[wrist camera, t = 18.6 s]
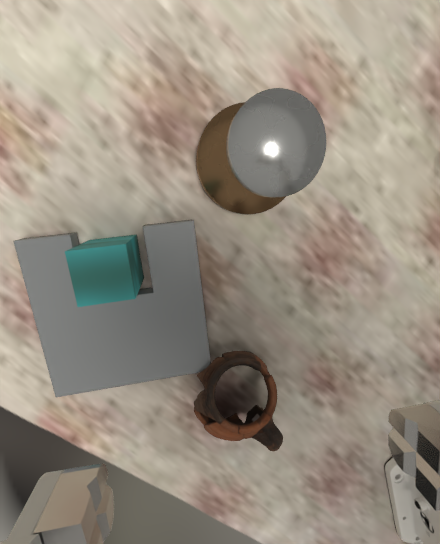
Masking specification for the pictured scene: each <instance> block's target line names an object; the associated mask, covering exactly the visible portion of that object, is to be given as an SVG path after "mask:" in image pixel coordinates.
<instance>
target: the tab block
mask: <svg viewBox="0 0 440 544" xmlns="http://www.w3.org/2000/svg"><path fill="white" fill-rule="evenodd" d="M65 255H66V260H67V264H68V268H69V272H70V277H71V281H72V285H73V289H74V294H75V298H76V302H77V307H83V306H90V305H97V304H104V303H111V302H118V301H125V300H132V299H136V297H137V294H138V292H139V289H140V287H141V284H142V282H143V279H144V275H143V269H142V263H141V258H140V252H139V246H138V240H137V235H129V236H120V237H112V238H104V239H95V240H89V241H87V242H85V243H82V244H80V245H78V246H76V247H73V248H71V249H69V250H67V251H65Z"/></svg>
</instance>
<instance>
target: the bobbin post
mask: <svg viewBox="0 0 440 544" xmlns="http://www.w3.org/2000/svg"><path fill="white" fill-rule="evenodd" d="M325 151H326V133H325V127H324V124H323V121H322V119H321V116H320V114H319V113H318V111H317V109H316V108H315V107H314V105H313V104H312V103H311V102H310V101H309V100H308V99H307V98H305V97H304V96H302V95H301V94H299V93H297V92H295V91H292V90H288V89H283V88H275V89H268V90H265V91H262V92H260V93H258V94H256V95H254V96H253V97H251V98H250V99H249V100H248V101H246V102H244V103H238V104H235V105H232V106H229V107H227V108H225V109H224V110H222V111H221V112H219V113H218V114H217V115H216V116H215V117H214V118H213V119H212V120H211V121H210V122H209V123H208V125H207V126H206V128H205V130H204V132H203V134H202V136H201V138H200V141H199V144H198V148H197V154H196V167H197V173H198V177H199V180H200V182H201V185H202V187H203V188H204V190H205V192H206V193H207V194H208V196H209V197H210V198H211V199H212V200H213V201H214V202H215V203H216V204H218V205H219V206H221V207H222V208H224V209H226V210H229V211H232V212H236V213H241V214H256V213H261V212H264V211H267V210H269V209H271V208H273V207H274V206H276V205H277V204H279V203H280V202H281V201H282V200H283V199H284V198H285V197H286V196H288V195H292V194H294V193H296V192H298V191H300V190H302V189H303V188H304V187H306V186H307V185H308V184H309V183H310V182H311V181H312V180H313V179H314V177H315V176H316V174H317V173H318V171H319V169H320V167H321V165H322V163H323V160H324V156H325Z"/></svg>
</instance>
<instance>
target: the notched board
mask: <svg viewBox="0 0 440 544" xmlns="http://www.w3.org/2000/svg"><path fill="white" fill-rule="evenodd" d="M143 230H144V237H145V243H146V249H147V255H148V261H149V267H150V274H151V280H152V286H153V288H146V289H139V292H138V294H137V297H136V299H132V300H125V301H118V302H111V303H104V304H97V305H90V306H83V307H77V302H76V298H75V294H74V289H73V285H72V281H71V277H70V272H69V268H68V264H67V260H66V255H65V251H67V250H69V249H71V248H73V247H76V246H78V245H79V241H78V236H77V233H68V234H59V235H50V236H41V237H32V238H24V239H20V240H16V241H14V245H15V248H16V252H17V256H18V259H19V263H20V267H21V271H22V274H23V278H24V282H25V285H26V289H27V293H28V296H29V300H30V304H31V308H32V311H33V315H34V319H35V322H36V326H37V330H38V333H39V337H40V341H41V344H42V348H43V352H44V356H45V359H46V363H47V367H48V370H49V374H50V378H51V381H52V385H53V389H54V393H55V396H56V397H61V396H67V395H72V394H78V393H84V392H90V391H95V390H101V389H107V388H112V387H118V386H124V385H130V384H135V383H141V382H147V381H153V380H158V379H164V378H170V377H176V376H181V375H187V374H193V373H198V372H201V371H203V370H204V369H206V368H207V367H208V366H209V365H210V364H211V360H210V352H209V344H208V335H207V327H206V319H205V310H204V302H203V294H202V285H201V277H200V269H199V260H198V252H197V244H196V235H195V227H194V221H193V220H185V221H176V222H167V223H158V224H149V225H144V226H143Z"/></svg>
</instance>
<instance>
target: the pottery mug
mask: <svg viewBox="0 0 440 544" xmlns="http://www.w3.org/2000/svg"><path fill="white" fill-rule="evenodd" d="M238 365H246V366H250V367H252V368H254V369H256V370H258V371H260V372H261V373H262V375H263V377H264V380H265V382H266V385H267V390H268V400H267V405H266V408H265V409H264V410H263V409H262V408H260V407H259V406H258V405H255V406H254V407H253V408H252V409H251V410H250V411H249V412H248V413H247V417H246V421H245V423H243V422H242V420H241V419H239V417H238V415H237V414H234V415H232V416H231V417H228V418H226V419H225V418H224V417H223V416H222V415H221V414H220V412H219V410H218V408H217V406H216V402H215V387H216V384H217V382H218V380H219V378H220V377H221V375H222V374H223V373H224V372H225V371H226V370H228V369H229V368H231V367H234V366H238ZM197 377H199V379H200V381H201V382H202V383H203V385H204V387H205V390H204V391H201V392H200V393H199V395H198V397H197V399H196V400H195V401H194V406H195V407H194V412H195V415H196V416H197V418H198V419H199V420H200V421H201V422H202V423H203V424H204V428H205V430H206V431H208V432H209V433H210V434H211V435H213V436H215V437H217V438H220V439H224V440H229V441H240V440H242V439H244V438H245V439H247V438H251V437H252V438H254V439H256V440H257V441H259V442H261V443H262V444H263V445H265V446H266V447H267V448H268V449H269V450H270V451H276V450H278V449H279V448H280V446H281V444H282V442H283V435H282V433H281V432H280V431H279V429H278V428H277V427H276V425H275V424H274V422H273V419H272V415H273V413H274V411H275V407H276V403H277V389H276V384H275V382H274V379H273V377H272V375H270V374H269V372H268V371H267V366H266V365H265V363H264V362H263V361H262V360H261V359H260V358H259V357H257V356H256V355H254V354H253V353H251V352H246V351H232V352H227V353H224V354H222V357H217V358H216V359H214V360H213V361H212V363H211V364H210V365H209V366H208V367H207V368H206V369H204V370H203V371H201V372H200V373H199V374H197Z"/></svg>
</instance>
